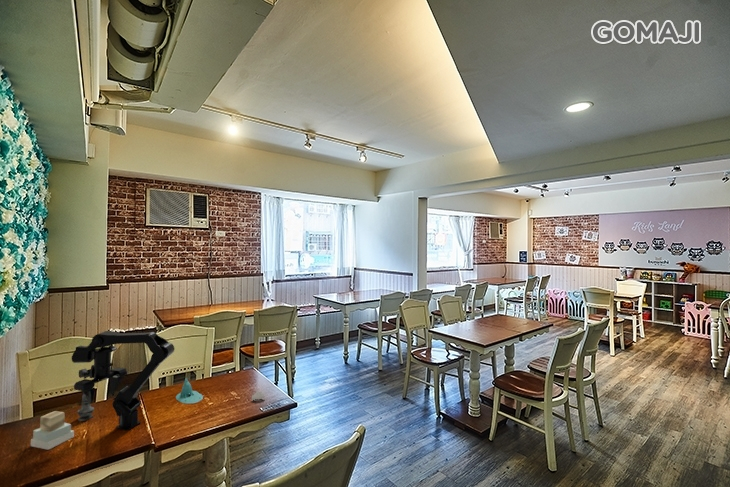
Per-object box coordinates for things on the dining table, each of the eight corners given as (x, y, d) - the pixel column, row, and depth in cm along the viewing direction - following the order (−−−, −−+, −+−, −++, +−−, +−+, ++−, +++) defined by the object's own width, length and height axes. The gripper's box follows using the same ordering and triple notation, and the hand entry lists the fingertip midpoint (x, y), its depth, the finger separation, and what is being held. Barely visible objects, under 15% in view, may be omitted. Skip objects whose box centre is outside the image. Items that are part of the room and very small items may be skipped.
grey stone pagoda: (84, 422, 147) (85, 394, 148) (73, 420, 149) (74, 393, 149) (97, 415, 153) (98, 388, 153) (86, 414, 154) (87, 387, 155)
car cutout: (265, 397, 175) (265, 388, 175) (265, 403, 169) (265, 394, 169) (234, 400, 172) (235, 391, 172) (233, 406, 165) (233, 397, 165)
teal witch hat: (184, 408, 162) (184, 390, 162) (169, 395, 176) (170, 378, 176) (209, 400, 171) (210, 383, 171) (194, 388, 184) (194, 372, 185)
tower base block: (73, 438, 136) (74, 430, 136) (48, 451, 127) (48, 443, 127) (57, 434, 138) (57, 427, 138) (30, 447, 130) (30, 439, 130)
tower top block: (70, 431, 135) (71, 424, 135) (46, 442, 128) (46, 434, 128) (57, 428, 138) (58, 420, 138) (33, 438, 130) (33, 430, 130)
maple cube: (64, 425, 135) (64, 412, 135) (50, 431, 130) (50, 418, 130) (54, 423, 136) (55, 410, 136) (40, 429, 131) (40, 416, 131)
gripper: (109, 353, 155) (108, 387, 155) (64, 367, 137) (63, 406, 137) (128, 355, 152) (127, 390, 152) (85, 370, 134) (84, 409, 134)
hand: (101, 398), depth 144 cm, fingers open, 9 cm apart
